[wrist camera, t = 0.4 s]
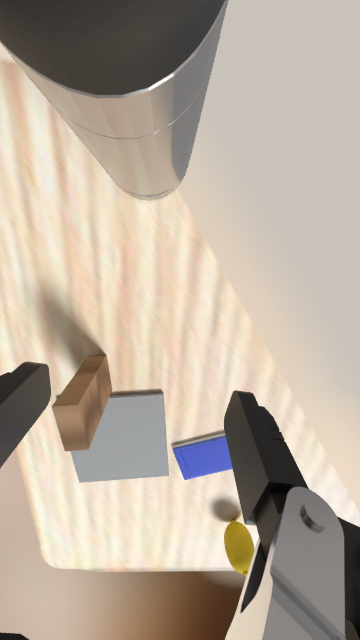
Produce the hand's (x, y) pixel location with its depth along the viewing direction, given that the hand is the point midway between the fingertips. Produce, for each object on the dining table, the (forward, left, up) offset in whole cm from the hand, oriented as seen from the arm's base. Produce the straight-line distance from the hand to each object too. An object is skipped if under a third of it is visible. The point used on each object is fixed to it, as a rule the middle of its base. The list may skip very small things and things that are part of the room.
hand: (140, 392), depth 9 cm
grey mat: (+24, -8, -19) cm, 32 cm away
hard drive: (+29, +8, -20) cm, 36 cm away
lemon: (+49, +13, -20) cm, 55 cm away
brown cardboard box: (+11, -9, -19) cm, 24 cm away
